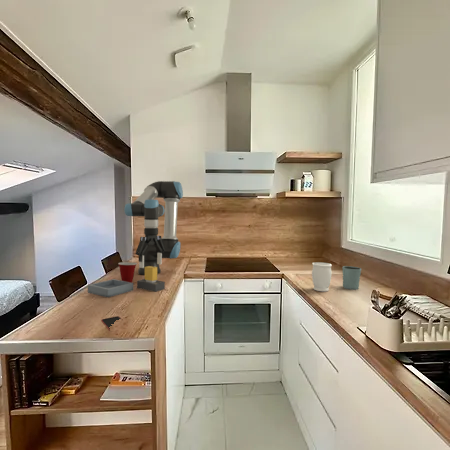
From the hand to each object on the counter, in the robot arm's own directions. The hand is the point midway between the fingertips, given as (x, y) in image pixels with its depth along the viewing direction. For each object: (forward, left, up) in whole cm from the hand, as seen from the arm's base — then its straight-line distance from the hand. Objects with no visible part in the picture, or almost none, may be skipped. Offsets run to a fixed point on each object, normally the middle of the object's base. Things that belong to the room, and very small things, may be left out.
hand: (150, 265), depth 160 cm
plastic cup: (-2, -21, -13) cm, 25 cm away
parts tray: (+16, -13, -13) cm, 24 cm away
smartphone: (+44, +25, -13) cm, 52 cm away
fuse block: (0, 0, -13) cm, 13 cm away
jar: (-52, +81, -13) cm, 97 cm away
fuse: (0, 0, -13) cm, 13 cm away
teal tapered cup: (-67, +95, -13) cm, 117 cm away
